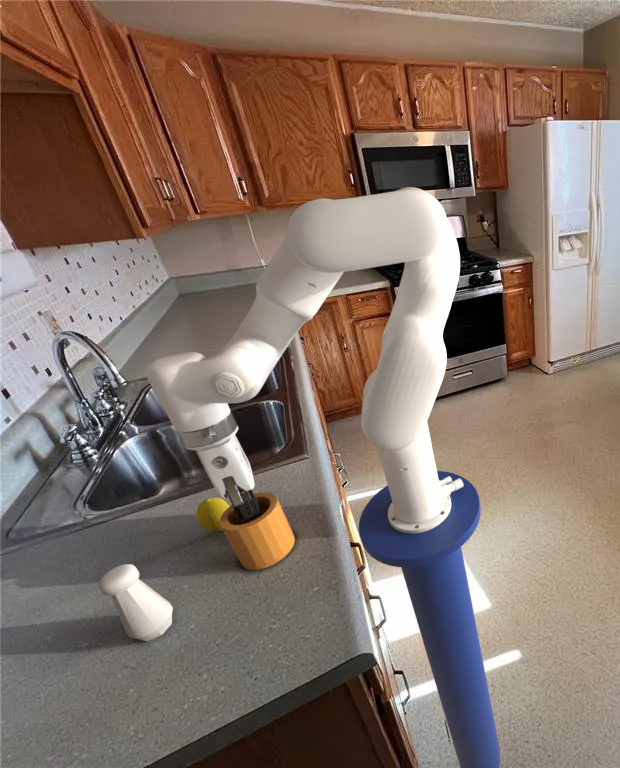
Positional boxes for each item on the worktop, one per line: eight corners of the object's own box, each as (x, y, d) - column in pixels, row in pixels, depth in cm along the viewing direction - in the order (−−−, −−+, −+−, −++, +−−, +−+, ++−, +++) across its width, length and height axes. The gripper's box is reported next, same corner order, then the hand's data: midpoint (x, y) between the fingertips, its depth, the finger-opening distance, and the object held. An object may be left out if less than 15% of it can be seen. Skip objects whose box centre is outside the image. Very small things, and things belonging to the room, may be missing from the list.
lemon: (200, 541, 82) (182, 511, 78) (217, 520, 87) (201, 491, 83) (228, 539, 82) (211, 509, 78) (243, 518, 87) (228, 488, 83)
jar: (290, 523, 84) (273, 485, 80) (299, 552, 77) (281, 512, 73) (239, 546, 80) (218, 507, 75) (243, 579, 73) (220, 539, 68)
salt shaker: (175, 634, 65) (134, 579, 59) (130, 654, 62) (82, 599, 56) (180, 604, 69) (142, 550, 63) (138, 622, 67) (95, 568, 61)
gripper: (239, 441, 62) (279, 530, 70) (231, 402, 73) (267, 482, 82) (178, 462, 58) (229, 553, 67) (180, 417, 70) (223, 499, 78)
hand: (250, 513), depth 74 cm, fingers closed
